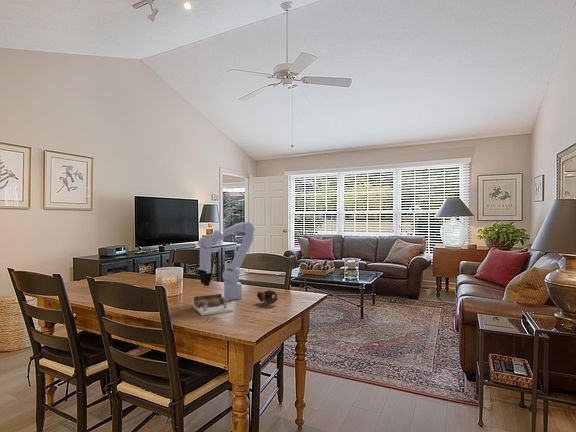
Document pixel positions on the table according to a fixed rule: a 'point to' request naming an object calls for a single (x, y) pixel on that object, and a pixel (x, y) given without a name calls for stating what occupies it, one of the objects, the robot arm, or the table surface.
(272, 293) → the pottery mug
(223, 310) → the board
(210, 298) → the brown rectangular box
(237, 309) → the table surface
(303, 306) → the table surface
